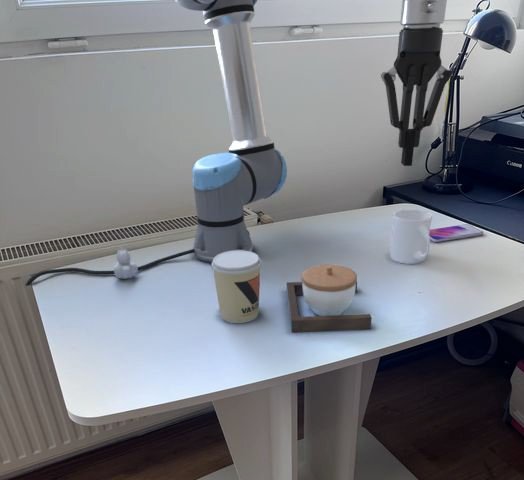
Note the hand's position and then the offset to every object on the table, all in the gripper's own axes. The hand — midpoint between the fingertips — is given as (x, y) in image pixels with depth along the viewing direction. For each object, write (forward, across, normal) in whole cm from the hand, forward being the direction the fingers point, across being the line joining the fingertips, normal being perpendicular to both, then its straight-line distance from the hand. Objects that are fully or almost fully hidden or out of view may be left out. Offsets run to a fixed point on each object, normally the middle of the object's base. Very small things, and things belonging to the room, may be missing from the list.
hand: (406, 164), depth 103 cm
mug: (+25, +6, +8) cm, 27 cm away
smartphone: (+24, +21, +24) cm, 40 cm away
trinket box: (+25, -17, -16) cm, 34 cm away
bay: (+24, -17, -16) cm, 34 cm away
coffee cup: (+25, -35, -16) cm, 46 cm away
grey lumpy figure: (+25, -62, +4) cm, 67 cm away
